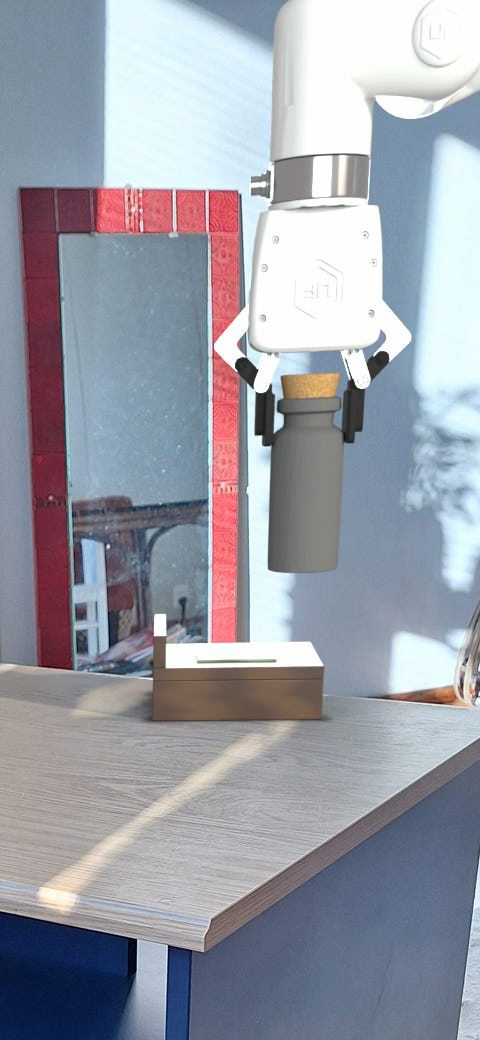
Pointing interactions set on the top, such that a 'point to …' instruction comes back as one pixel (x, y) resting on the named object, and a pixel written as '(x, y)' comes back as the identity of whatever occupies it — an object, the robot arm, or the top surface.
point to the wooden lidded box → (235, 680)
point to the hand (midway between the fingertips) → (307, 441)
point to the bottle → (306, 477)
